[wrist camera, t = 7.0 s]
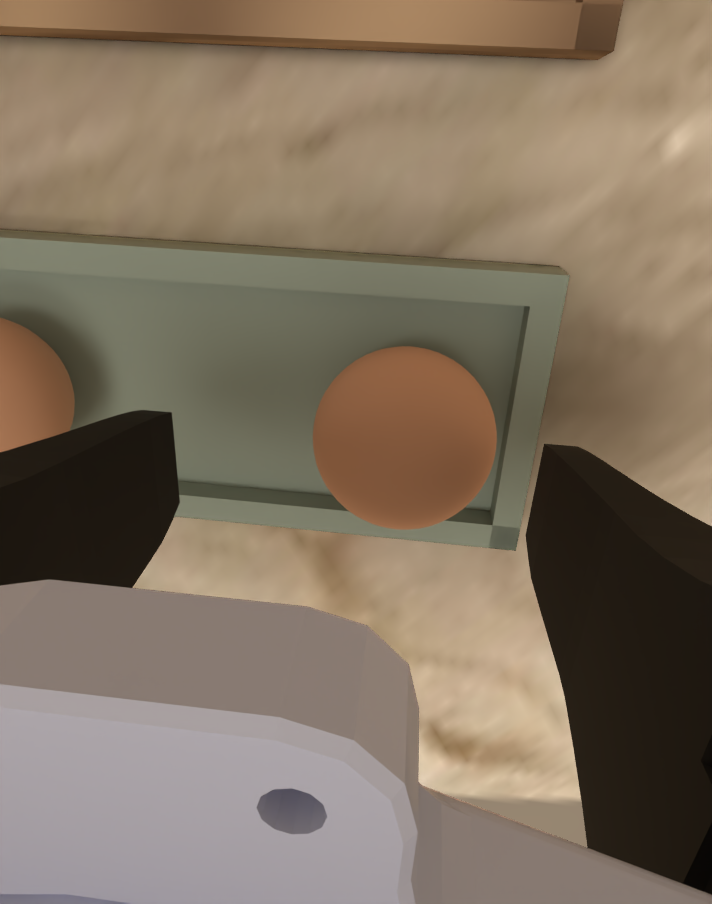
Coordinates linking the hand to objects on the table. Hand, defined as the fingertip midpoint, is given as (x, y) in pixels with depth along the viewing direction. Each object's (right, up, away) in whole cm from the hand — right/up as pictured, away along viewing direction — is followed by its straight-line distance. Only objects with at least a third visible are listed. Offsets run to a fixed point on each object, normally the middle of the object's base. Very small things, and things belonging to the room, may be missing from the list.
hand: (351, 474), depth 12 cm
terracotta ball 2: (+1, +1, +2) cm, 2 cm away
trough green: (-4, +2, +4) cm, 6 cm away
